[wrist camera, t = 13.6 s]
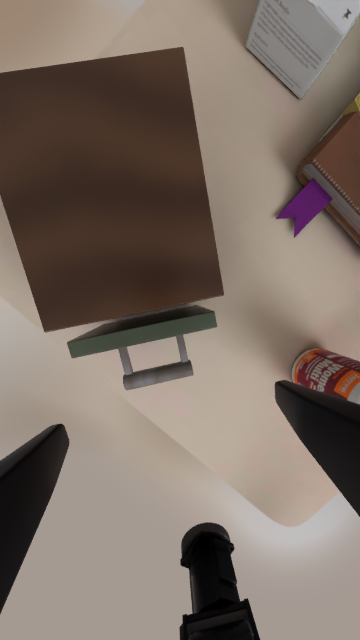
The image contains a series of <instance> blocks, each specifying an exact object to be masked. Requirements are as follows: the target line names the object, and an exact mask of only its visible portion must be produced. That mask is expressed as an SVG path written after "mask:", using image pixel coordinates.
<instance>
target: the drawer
mask: <svg viewBox="0 0 360 640" xmlns="http://www.w3.org/2000/svg"><path fill="white" fill-rule="evenodd" d="M215 327H217V324H216V318H215V312H214V311H212V310H209V309H206V308H204V307H201V306H198V305H193V306H188V307H183V308H178V309H174V310H169V311H164V312H159V313H154V314H150V315H145V316H140V317H135V318H131V319H126V320H121V321H116V322H111V323H107V324H103V325H101V326H99V327H97V328H95V329H93V330H91V331H89V332H87V333H85V334H83V335H81V336H79V337H77V338H75V339H73V340H71V341H69V342H67V344H68V348H69V351H70V354H71V357H72V358H77V357H81V356H86V355H90V354H95V353H100V352H104V351H109V350H114V349H118V350H119V353H120V357H121V361H122V365H123V368H124V372H125V374H124V376H123V384H124V387H125V389H126V390H131V389H135V388H140V387H144V386H148V385H153V384H157V383H162V382H166V381H170V380H175V379H179V378H184V377H188V376H192V375H193V369H192V365H191V361H190V360H188V357H187V352H186V347H185V342H184V338H183V334H188V333H192V332H197V331H201V330H206V329H211V328H215ZM174 336H176V338H177V343H178V348H179V353H180V357H181V362H177V363H172V364H168V365H163V366H159V367H154V368H150V369H145V370H141V371H136V372H133V369H132V366H131V362H130V358H129V354H128V350H127V346H132V345H137V344H141V343H146V342H151V341H155V340H160V339H164V338H169V337H174Z"/></svg>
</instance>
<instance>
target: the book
mask: <svg viewBox="0 0 360 640" xmlns="http://www.w3.org/2000/svg"><path fill="white" fill-rule="evenodd" d="M319 142H320V143H319ZM318 143H319V144H318V145H317V146H316V147H315V148H314V149H313V150H312V152H311V153H310V154H309V155H308V156H307V157H306V158H305V159H304V160H303V162H302V163H301V164H300V165H299V166H298V169H297V174H296V178H297V179H298V180H299V181H300V182H301V183H302V184H303V185H304V186H305V187H304V188H303V189H302V191H301V192H300V193H299V194H298V195H297V196H296V197H295V198H294V199H293V200H292V201H291V202H290V203H289V204H288V205H287V206H286V207H285V208H284V210H283V211H282V212H281V213H280V214H279V215H278V216H277V217H276V219H280V218H295V228H294V238H295V236H296V235H297V234H298V233H299V232H300V231H301V230H302V229H303V228H304V227H305V226H306V225H307V224H308V223H309V222H310V221H311V220H312V219H313V218H314V217H315V216H316V215H317V214H318V213H319V212H320V211H321V210H322V209H323V208H325V209H326V210H327V211H328V212H329V213H330V214H331V215H332V216H333V218H334V219H335V220H336V221H337V222H338V223H339V224H340V225H341V226H342V227H343V228H344V229H345V231H346V232H347V233H348V234H349V235H350V236H351V237H352V238H353V239H354V240H355V241H356V242H357V244H358V245H359V246H360V93H359V94H358V96H357V97H356V98H355V99H354V100H353V101H352V102H351V103H350V105H349V106H348V107H347V108H346V109H345V110H344V111H343V112H342V113H341V115H340V116H339V117H338V118H337V119H336V120H335V121H334V122H333V124H332V125H331V126H330V127H329V128H328V129H327V131H326V133H325V134H324V135H323V136H322V137H321V139H320V140H319V141H318Z"/></svg>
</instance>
